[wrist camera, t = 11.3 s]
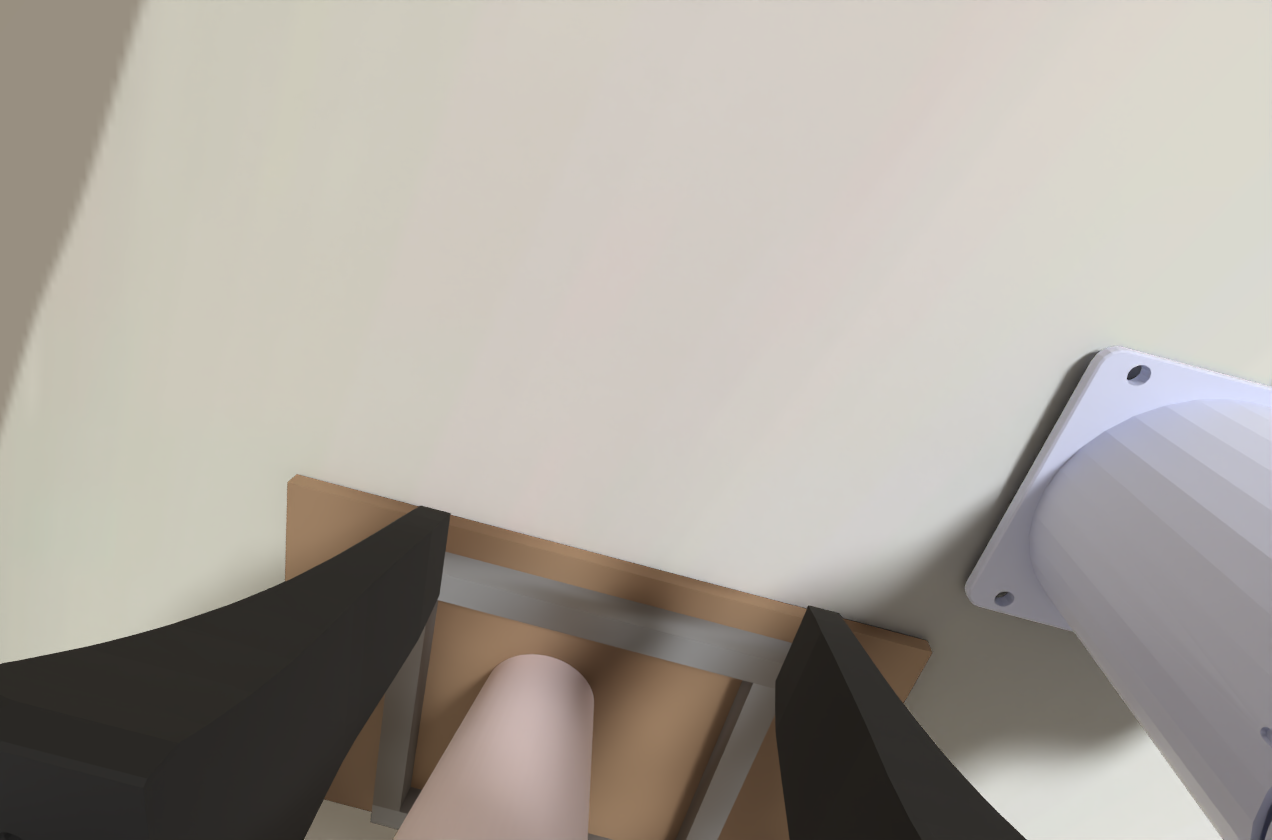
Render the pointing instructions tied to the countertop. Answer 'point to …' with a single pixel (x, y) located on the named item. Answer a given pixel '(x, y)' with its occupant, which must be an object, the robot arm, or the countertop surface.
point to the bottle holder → (585, 673)
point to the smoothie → (514, 760)
